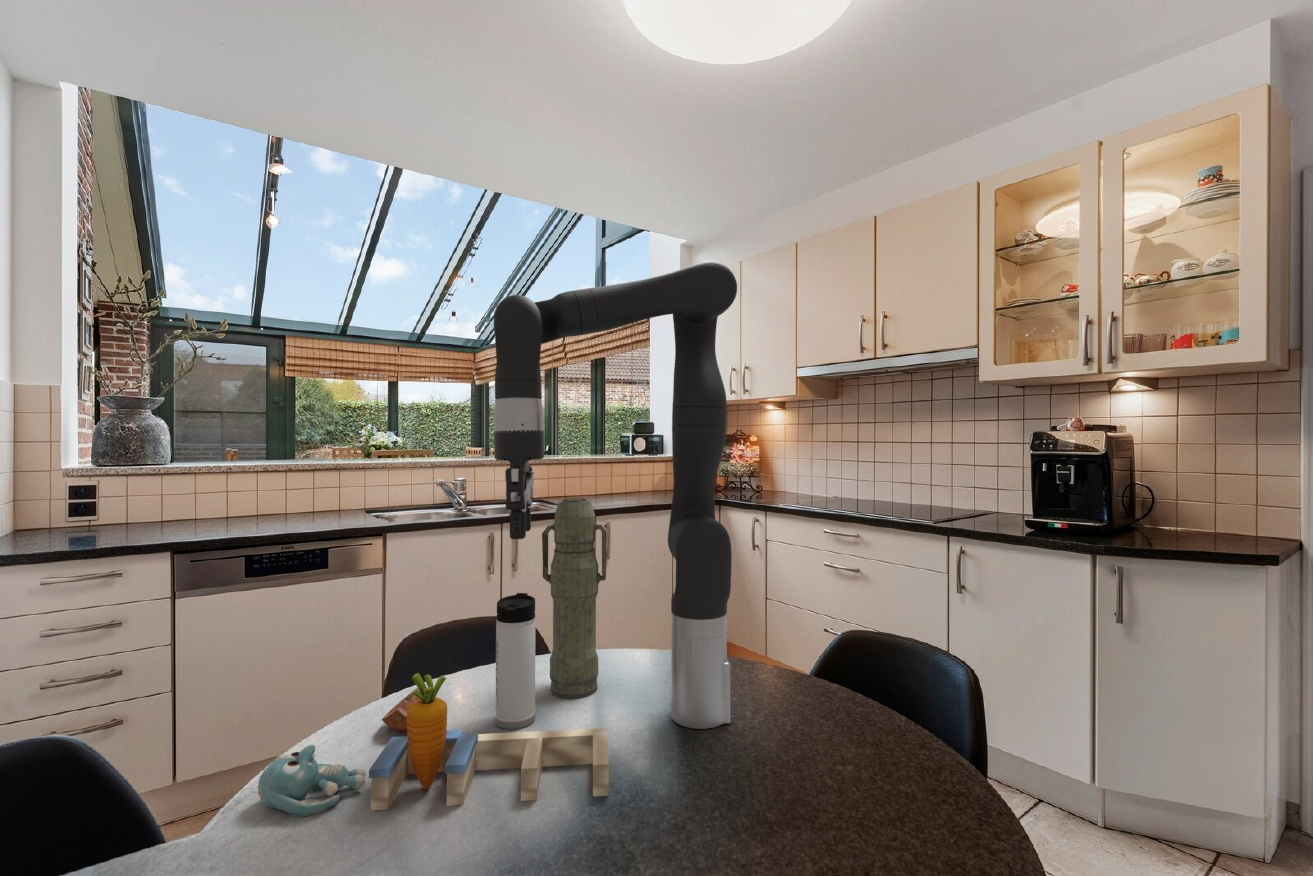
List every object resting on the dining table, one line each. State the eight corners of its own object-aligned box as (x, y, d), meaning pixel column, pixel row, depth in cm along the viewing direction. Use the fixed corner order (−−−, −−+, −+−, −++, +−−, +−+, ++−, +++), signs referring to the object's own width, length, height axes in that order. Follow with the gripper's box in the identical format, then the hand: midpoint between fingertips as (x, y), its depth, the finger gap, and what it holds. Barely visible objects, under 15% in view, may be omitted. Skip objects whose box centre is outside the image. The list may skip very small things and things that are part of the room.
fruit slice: (416, 741, 90) (416, 708, 90) (371, 741, 90) (372, 708, 90) (436, 717, 98) (436, 686, 99) (396, 717, 98) (396, 686, 99)
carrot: (455, 781, 79) (455, 668, 79) (430, 803, 74) (430, 682, 74) (424, 775, 80) (424, 664, 81) (397, 796, 76) (398, 677, 76)
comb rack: (606, 755, 86) (606, 720, 86) (608, 796, 76) (608, 756, 76) (396, 767, 83) (396, 730, 83) (368, 811, 72) (369, 770, 73)
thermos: (541, 682, 113) (542, 498, 114) (603, 678, 115) (604, 497, 116) (540, 701, 105) (541, 501, 105) (607, 696, 107) (608, 501, 107)
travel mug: (540, 712, 100) (541, 593, 101) (528, 730, 94) (528, 602, 94) (504, 710, 101) (505, 592, 101) (489, 729, 94) (490, 601, 95)
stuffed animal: (369, 765, 73) (256, 766, 69) (356, 826, 72) (241, 830, 68) (374, 728, 83) (276, 726, 79) (363, 781, 82) (263, 782, 78)
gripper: (540, 426, 85) (542, 540, 85) (546, 430, 99) (548, 528, 99) (486, 427, 84) (488, 543, 84) (500, 431, 98) (502, 529, 98)
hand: (520, 534), depth 91 cm, fingers open, 8 cm apart
